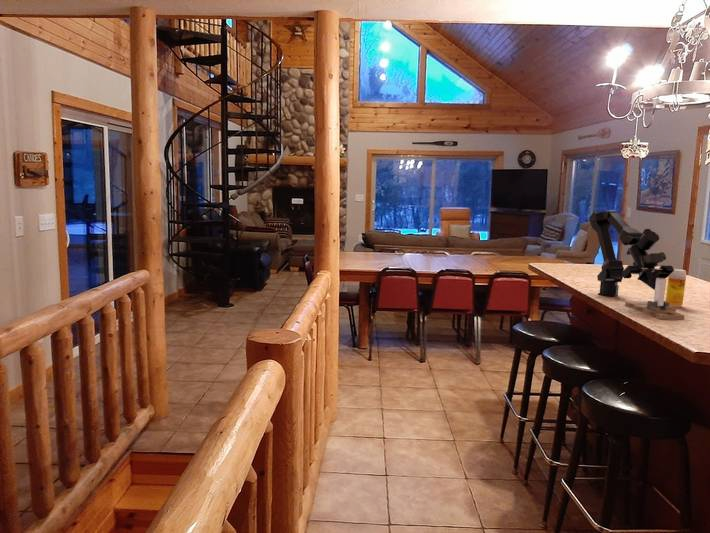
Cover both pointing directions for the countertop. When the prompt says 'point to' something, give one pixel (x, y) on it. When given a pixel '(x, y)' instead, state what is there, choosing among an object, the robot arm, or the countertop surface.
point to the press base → (655, 309)
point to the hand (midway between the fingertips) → (656, 289)
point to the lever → (659, 292)
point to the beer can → (676, 288)
